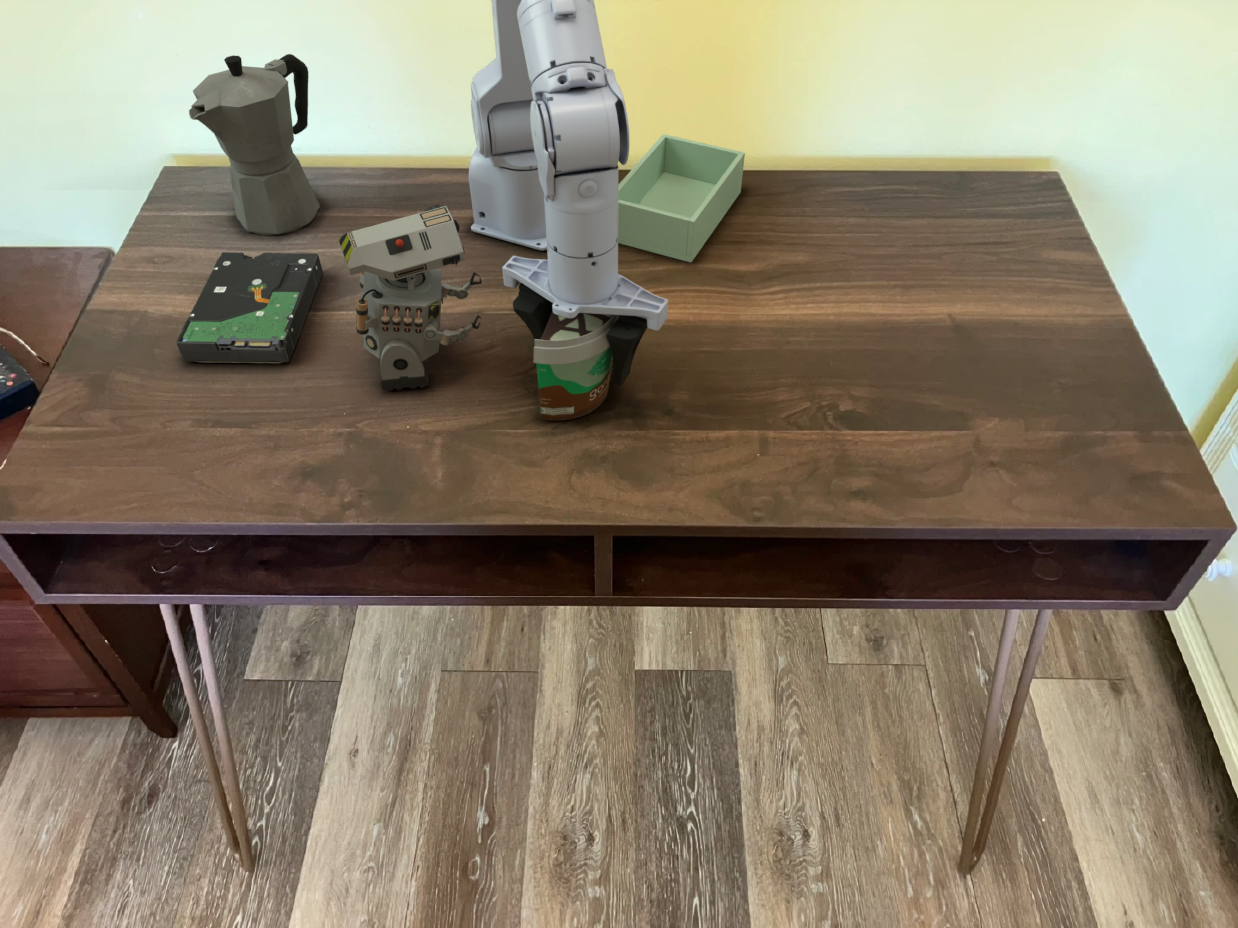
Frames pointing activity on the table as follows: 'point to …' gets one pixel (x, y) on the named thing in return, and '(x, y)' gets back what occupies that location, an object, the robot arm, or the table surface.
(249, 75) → the coffeepot
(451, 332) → the figurine
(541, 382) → the food container
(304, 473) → the table surface
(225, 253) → the disk drive
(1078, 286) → the table surface
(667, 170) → the storage bin
